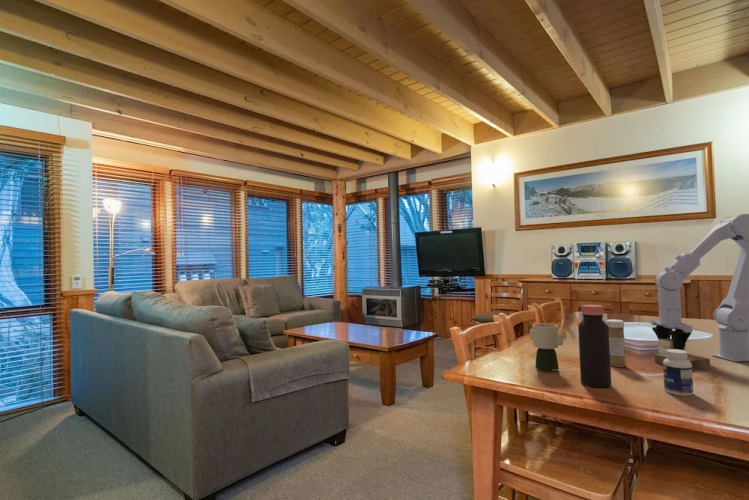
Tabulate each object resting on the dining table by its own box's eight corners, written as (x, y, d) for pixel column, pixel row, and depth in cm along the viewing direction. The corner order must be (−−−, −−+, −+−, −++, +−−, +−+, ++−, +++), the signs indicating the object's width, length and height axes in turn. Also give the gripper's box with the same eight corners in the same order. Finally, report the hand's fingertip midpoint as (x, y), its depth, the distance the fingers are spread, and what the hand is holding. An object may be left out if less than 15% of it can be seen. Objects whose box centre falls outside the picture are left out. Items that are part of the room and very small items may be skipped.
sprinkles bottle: (611, 362, 119) (609, 318, 119) (628, 365, 115) (626, 320, 116) (605, 365, 116) (603, 320, 116) (622, 368, 112) (620, 321, 113)
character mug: (572, 372, 110) (570, 326, 111) (555, 376, 107) (554, 328, 107) (539, 364, 120) (537, 321, 120) (523, 367, 116) (521, 323, 117)
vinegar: (614, 383, 99) (610, 305, 100) (606, 390, 94) (602, 307, 95) (585, 378, 104) (582, 303, 105) (577, 384, 99) (573, 306, 100)
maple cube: (673, 353, 128) (672, 338, 128) (686, 357, 123) (685, 341, 123) (658, 354, 128) (658, 338, 128) (670, 357, 123) (669, 341, 123)
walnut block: (679, 361, 119) (679, 351, 119) (710, 369, 110) (709, 358, 111) (655, 364, 118) (654, 354, 118) (684, 372, 109) (683, 361, 109)
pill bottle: (658, 389, 94) (656, 348, 94) (679, 388, 95) (677, 347, 95) (677, 397, 89) (675, 354, 89) (699, 395, 89) (697, 352, 90)
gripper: (641, 306, 133) (643, 346, 132) (675, 312, 118) (677, 356, 118) (661, 306, 133) (664, 346, 133) (698, 311, 119) (700, 356, 118)
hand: (672, 351), depth 125 cm, fingers closed on maple cube, 5 cm apart
